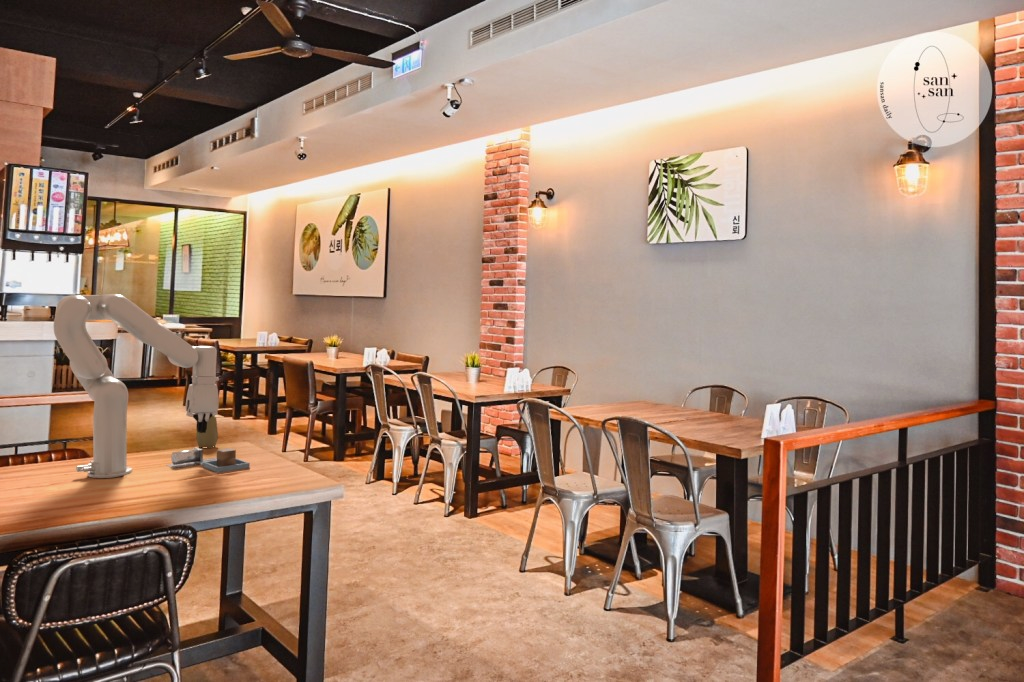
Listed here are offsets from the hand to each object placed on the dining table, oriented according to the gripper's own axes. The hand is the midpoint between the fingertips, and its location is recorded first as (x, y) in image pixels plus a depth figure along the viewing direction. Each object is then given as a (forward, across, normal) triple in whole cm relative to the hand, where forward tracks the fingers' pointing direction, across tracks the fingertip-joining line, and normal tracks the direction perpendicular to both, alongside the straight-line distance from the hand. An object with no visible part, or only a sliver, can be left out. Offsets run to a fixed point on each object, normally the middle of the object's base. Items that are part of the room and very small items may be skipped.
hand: (201, 432), depth 246 cm
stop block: (+10, -3, +13) cm, 17 cm away
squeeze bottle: (+11, -14, -26) cm, 31 cm away
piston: (+11, +5, 0) cm, 12 cm away
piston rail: (+11, +1, 0) cm, 11 cm away
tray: (+11, -3, +13) cm, 18 cm away
